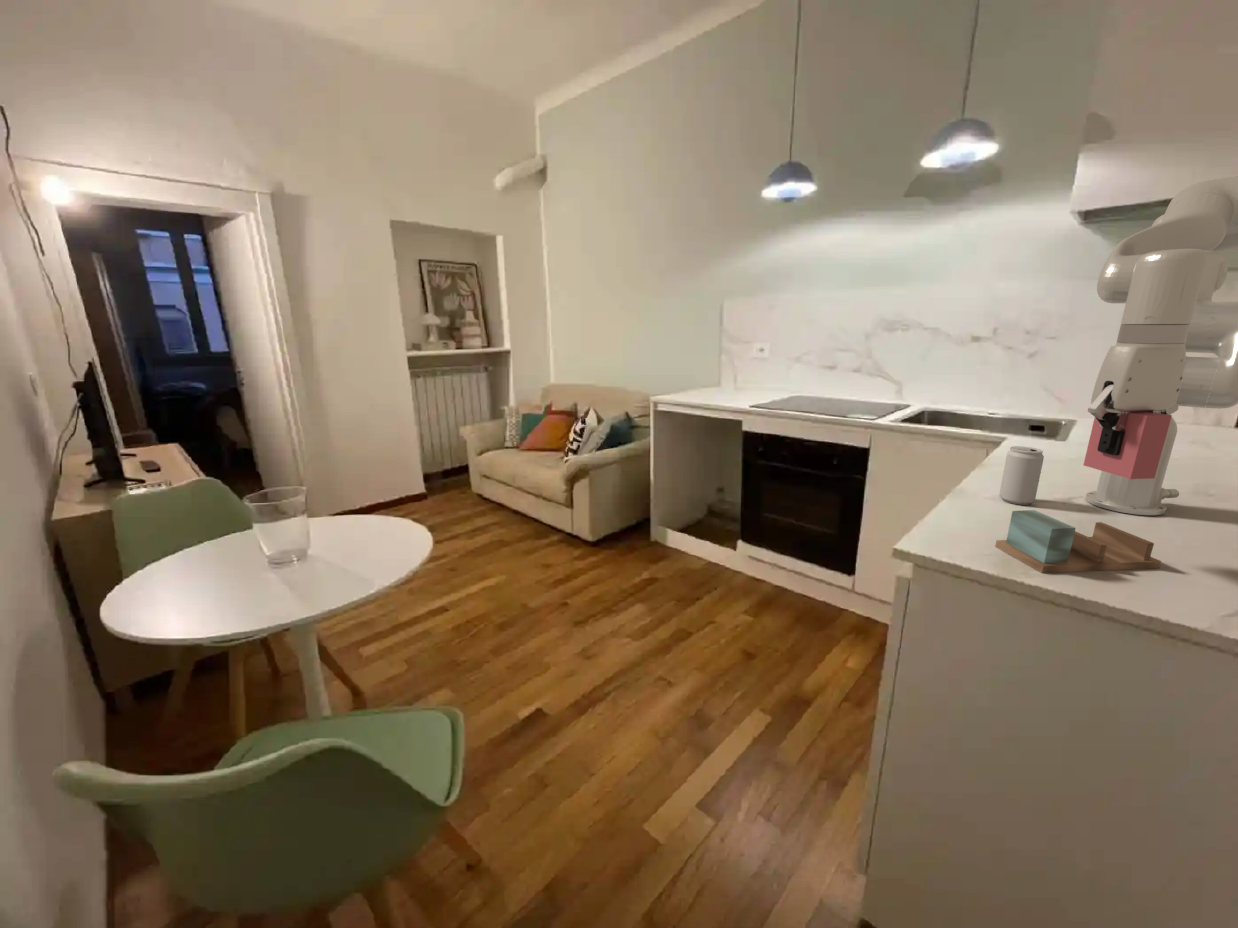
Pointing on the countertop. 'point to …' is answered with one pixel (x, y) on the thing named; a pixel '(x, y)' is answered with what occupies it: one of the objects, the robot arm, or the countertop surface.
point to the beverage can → (1021, 475)
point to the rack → (1073, 546)
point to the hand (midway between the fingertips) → (1121, 451)
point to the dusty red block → (1132, 446)
